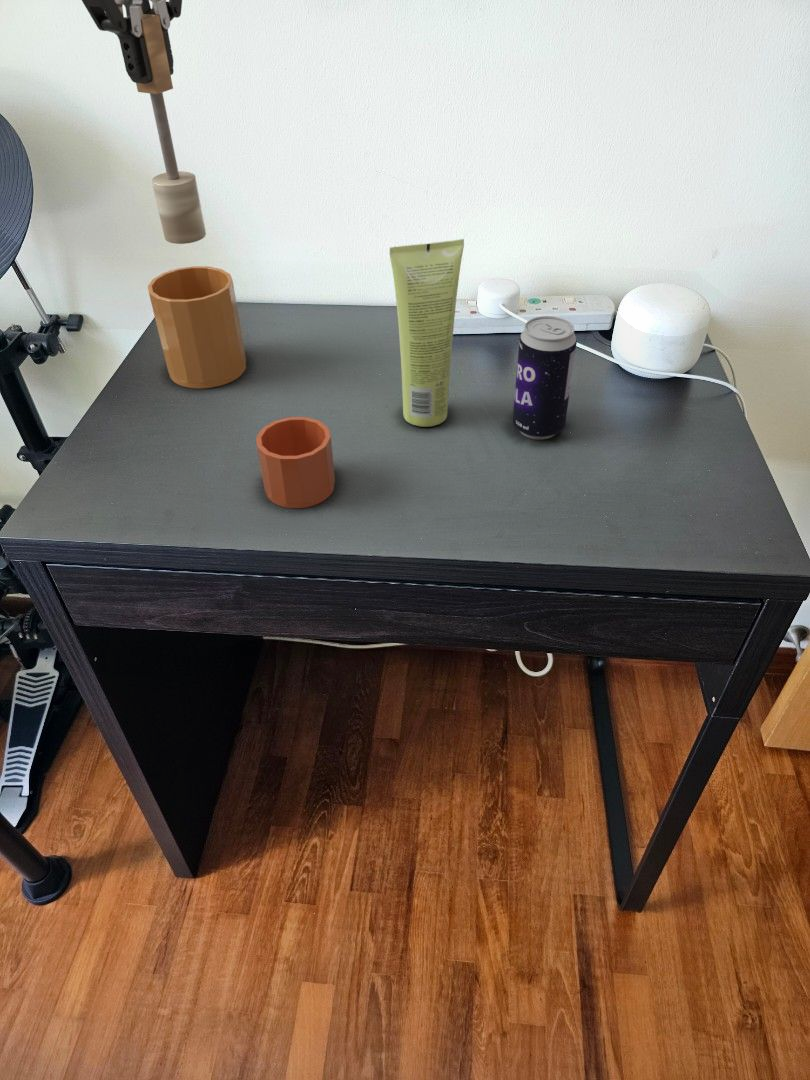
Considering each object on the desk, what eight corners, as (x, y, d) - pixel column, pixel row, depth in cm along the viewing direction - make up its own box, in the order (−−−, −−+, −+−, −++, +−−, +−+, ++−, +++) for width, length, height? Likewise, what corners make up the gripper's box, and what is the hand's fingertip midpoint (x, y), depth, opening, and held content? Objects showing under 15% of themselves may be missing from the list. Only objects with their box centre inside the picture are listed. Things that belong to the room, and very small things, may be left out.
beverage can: (528, 408, 89) (538, 309, 81) (573, 424, 87) (588, 323, 79) (502, 432, 86) (510, 330, 78) (548, 449, 83) (561, 346, 75)
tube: (420, 397, 91) (420, 227, 78) (458, 409, 89) (464, 237, 76) (394, 421, 88) (388, 247, 75) (433, 434, 86) (434, 257, 73)
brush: (188, 246, 83) (142, 22, 70) (156, 240, 85) (105, 19, 71) (214, 232, 86) (175, 13, 72) (182, 226, 87) (138, 10, 74)
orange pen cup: (215, 395, 93) (197, 307, 85) (152, 378, 96) (130, 291, 88) (261, 359, 99) (248, 274, 91) (201, 344, 102) (183, 260, 95)
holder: (311, 516, 76) (305, 466, 72) (250, 496, 78) (241, 446, 74) (348, 476, 80) (344, 427, 76) (289, 458, 83) (282, 410, 79)
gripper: (126, -166, 69) (169, 60, 81) (1, -163, 60) (70, 92, 72) (194, -168, 67) (228, 66, 78) (74, -165, 58) (133, 100, 69)
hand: (152, 77), depth 75 cm, fingers closed on brush, 2 cm apart
